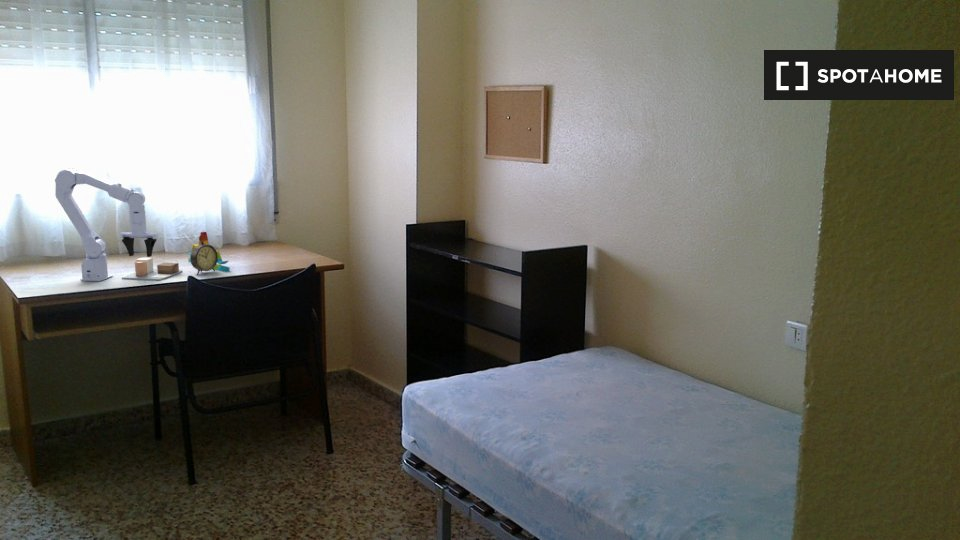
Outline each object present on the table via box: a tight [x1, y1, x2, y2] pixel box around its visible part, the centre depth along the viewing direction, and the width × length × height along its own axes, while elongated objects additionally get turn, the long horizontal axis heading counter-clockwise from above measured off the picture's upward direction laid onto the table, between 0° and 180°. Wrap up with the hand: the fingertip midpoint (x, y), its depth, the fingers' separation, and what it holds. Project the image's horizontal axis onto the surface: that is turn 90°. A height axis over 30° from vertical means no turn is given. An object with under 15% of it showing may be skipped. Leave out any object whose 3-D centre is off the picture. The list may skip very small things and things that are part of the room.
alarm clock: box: [189, 233, 218, 276], centre depth 323 cm, size 11×5×16 cm, turn 148°
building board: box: [121, 268, 183, 282], centre depth 318 cm, size 18×16×1 cm
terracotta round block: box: [134, 261, 148, 277], centre depth 314 cm, size 4×4×6 cm
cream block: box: [135, 257, 154, 273], centre depth 321 cm, size 4×4×6 cm
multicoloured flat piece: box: [187, 231, 231, 273], centre depth 337 cm, size 30×3×15 cm, turn 47°
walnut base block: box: [156, 262, 180, 274], centre depth 321 cm, size 6×6×4 cm
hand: (140, 256), depth 313 cm, fingers open, 7 cm apart
